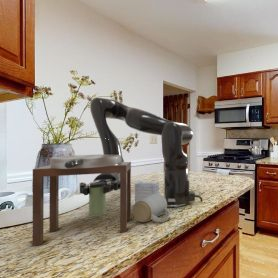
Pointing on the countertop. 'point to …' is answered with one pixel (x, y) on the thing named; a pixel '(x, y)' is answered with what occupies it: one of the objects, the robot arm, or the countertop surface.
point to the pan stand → (77, 167)
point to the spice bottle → (97, 199)
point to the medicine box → (145, 190)
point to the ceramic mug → (151, 208)
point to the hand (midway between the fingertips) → (95, 191)
